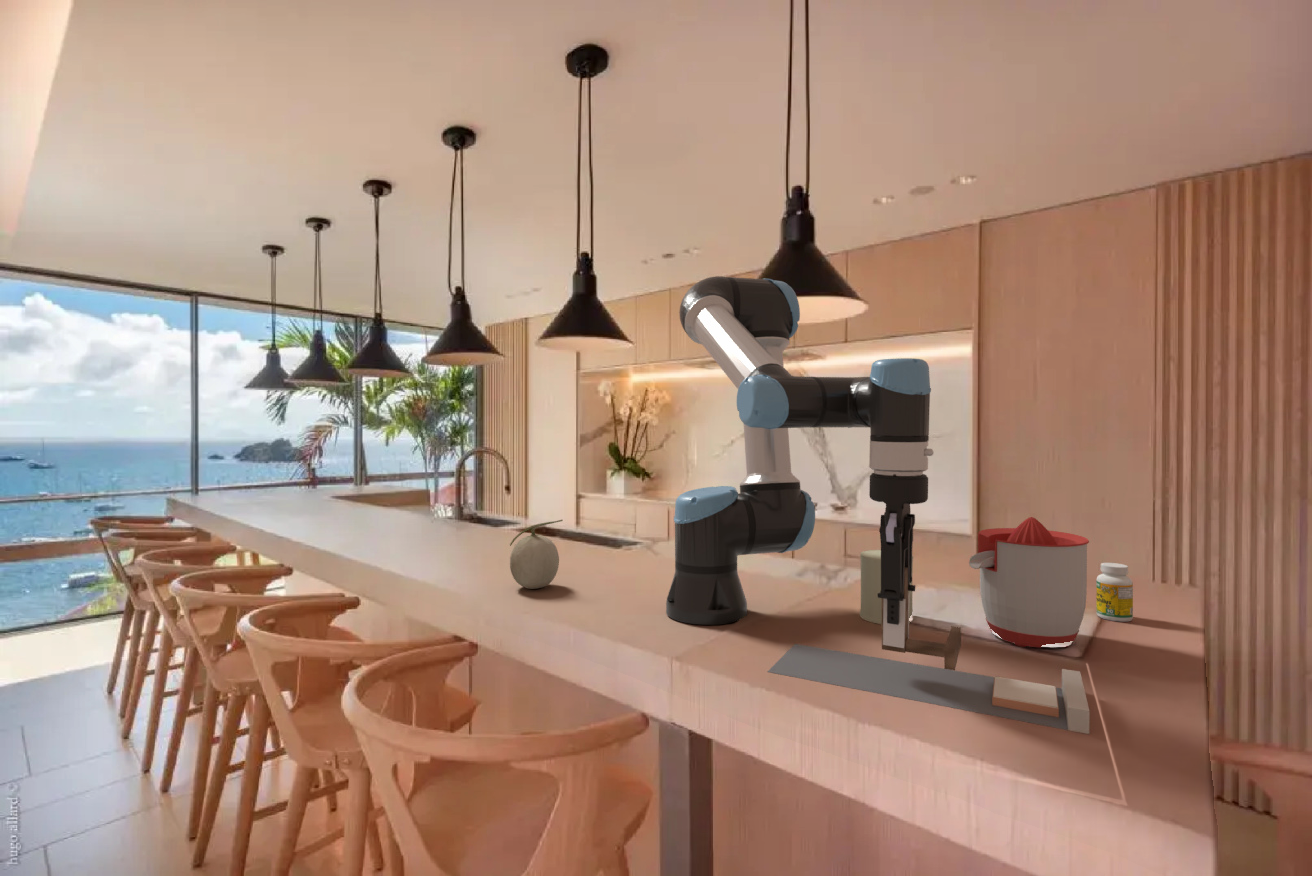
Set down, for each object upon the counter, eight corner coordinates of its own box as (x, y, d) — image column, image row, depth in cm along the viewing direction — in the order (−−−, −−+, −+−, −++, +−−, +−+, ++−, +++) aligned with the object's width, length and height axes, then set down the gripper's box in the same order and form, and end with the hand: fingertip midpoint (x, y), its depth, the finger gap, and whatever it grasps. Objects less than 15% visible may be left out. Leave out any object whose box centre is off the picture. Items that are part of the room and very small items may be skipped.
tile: (992, 704, 80) (992, 695, 80) (994, 684, 86) (994, 675, 86) (1058, 717, 77) (1058, 707, 76) (1055, 695, 83) (1055, 685, 83)
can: (918, 626, 112) (918, 558, 111) (862, 623, 114) (862, 556, 113) (908, 611, 121) (908, 547, 120) (857, 609, 123) (857, 546, 122)
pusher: (877, 657, 85) (876, 575, 85) (889, 634, 94) (889, 560, 94) (954, 670, 81) (954, 583, 80) (960, 644, 90) (960, 566, 89)
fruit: (497, 588, 140) (496, 519, 140) (543, 579, 148) (542, 514, 147) (522, 597, 132) (521, 525, 132) (569, 587, 140) (568, 519, 140)
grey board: (767, 674, 91) (767, 653, 91) (795, 646, 102) (795, 627, 102) (1089, 737, 72) (1089, 710, 72) (1079, 694, 84) (1080, 671, 84)
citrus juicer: (951, 623, 113) (951, 510, 113) (1051, 623, 113) (1052, 510, 112) (995, 655, 98) (996, 524, 97) (1111, 655, 97) (1113, 524, 97)
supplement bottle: (1140, 622, 113) (1140, 567, 113) (1110, 622, 113) (1111, 568, 113) (1117, 613, 119) (1117, 561, 118) (1089, 613, 118) (1089, 561, 118)
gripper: (920, 479, 79) (917, 666, 80) (935, 468, 93) (932, 628, 94) (857, 476, 83) (855, 655, 84) (881, 466, 97) (878, 620, 98)
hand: (896, 640), depth 89 cm, fingers closed on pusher, 3 cm apart
